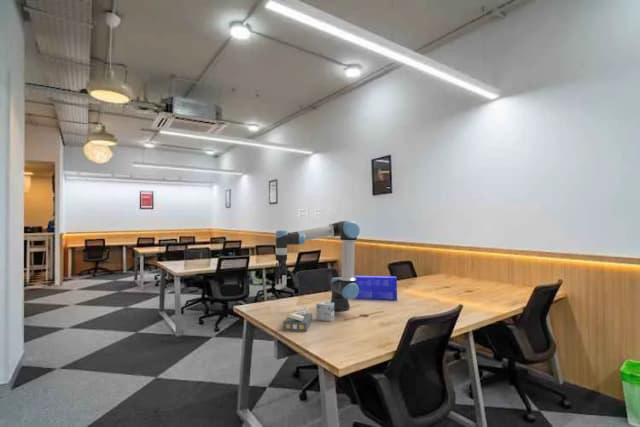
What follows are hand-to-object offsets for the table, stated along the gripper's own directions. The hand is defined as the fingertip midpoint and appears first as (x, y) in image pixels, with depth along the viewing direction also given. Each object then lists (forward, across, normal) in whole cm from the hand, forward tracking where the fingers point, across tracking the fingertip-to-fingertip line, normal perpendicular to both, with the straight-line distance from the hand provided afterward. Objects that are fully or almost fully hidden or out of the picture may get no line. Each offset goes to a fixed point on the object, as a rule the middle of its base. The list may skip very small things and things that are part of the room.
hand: (281, 287), depth 212 cm
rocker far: (+15, -1, +13) cm, 19 cm away
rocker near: (+15, +12, +13) cm, 23 cm away
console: (+22, +5, +13) cm, 26 cm away
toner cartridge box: (+22, -74, +57) cm, 95 cm away
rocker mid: (+15, +6, +13) cm, 20 cm away
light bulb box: (+22, -10, +27) cm, 37 cm away
